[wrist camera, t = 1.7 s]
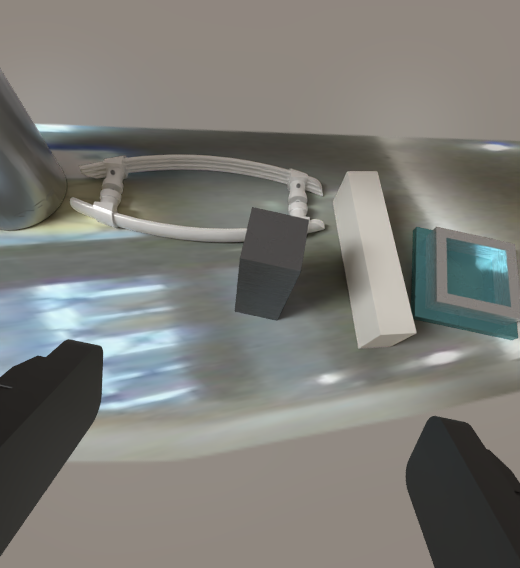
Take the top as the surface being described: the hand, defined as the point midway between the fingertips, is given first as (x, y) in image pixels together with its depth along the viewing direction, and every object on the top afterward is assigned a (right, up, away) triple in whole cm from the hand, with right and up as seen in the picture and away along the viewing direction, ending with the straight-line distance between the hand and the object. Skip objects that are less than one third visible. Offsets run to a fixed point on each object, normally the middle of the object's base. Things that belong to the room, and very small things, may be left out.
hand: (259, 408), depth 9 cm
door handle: (-6, +11, +29) cm, 32 cm away
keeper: (+20, +3, +28) cm, 35 cm away
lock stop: (0, +2, +25) cm, 25 cm away
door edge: (+10, +5, +27) cm, 29 cm away
